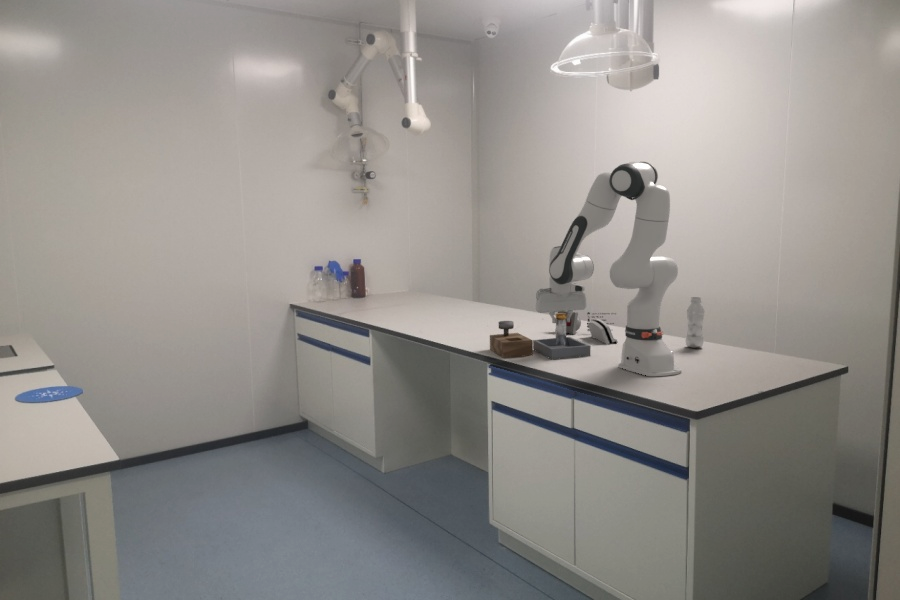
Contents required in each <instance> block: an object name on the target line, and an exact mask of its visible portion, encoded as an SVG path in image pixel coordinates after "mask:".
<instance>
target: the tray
mask: <svg viewBox="0 0 900 600" xmlns="http://www.w3.org/2000/svg"><path fill="white" fill-rule="evenodd" d="M532 340H533V349H534V350H533V351H535V352H537V353H538V352H539V353H538V354H540V353H541V354H540V355H542V354H543V355H542V356H544V355H545V356H544V357H546V356H547V357H546V358H548V357H549V358H548V359H550V358H551V359H550V360H552V359H553V360H560V359H559V358H564V359H570V358H569V357H574V358H580V357H579V356H584V357H591V345H590V344H588V343H585V342H582V341H580V340H578V339H576V338H573V337H571V336H566V345H556V337H552V338H550V337H549V338H541V339H532Z"/></svg>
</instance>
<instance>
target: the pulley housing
mask: <svg viewBox="0 0 900 600" xmlns="http://www.w3.org/2000/svg"><path fill="white" fill-rule="evenodd" d="M498 329H499V330H503V333H500V334H489V350H490V351H491V352H493V353H495V354H496V355H498V356H499V357H502V358H503V359H509V358H519V357H530V356H529V355H532V356H534V352H533V351H534V350H533V340H534V339H530V338H529V337H527V336H525V335H523V334H520V333H518V332H510V331H509V330H512V329H514V321H512V320H500V321H498ZM509 332H510V333H509Z"/></svg>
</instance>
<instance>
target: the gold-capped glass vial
mask: <svg viewBox="0 0 900 600" xmlns="http://www.w3.org/2000/svg"><path fill="white" fill-rule="evenodd" d="M555 318H557V323H555V330H556V331H555V338H556V345H566V337H567V333H566V314H565V313H558V312H555Z"/></svg>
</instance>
